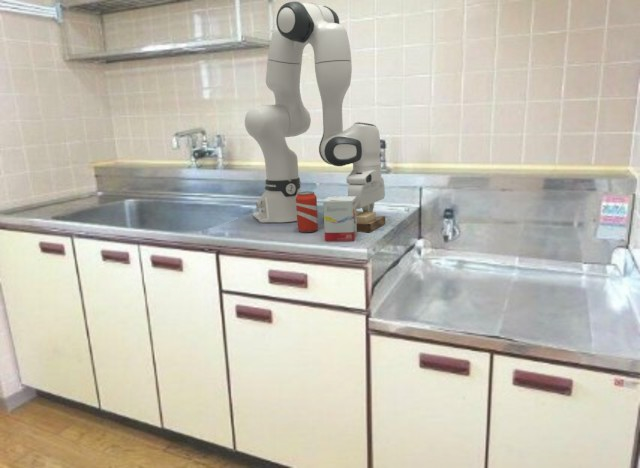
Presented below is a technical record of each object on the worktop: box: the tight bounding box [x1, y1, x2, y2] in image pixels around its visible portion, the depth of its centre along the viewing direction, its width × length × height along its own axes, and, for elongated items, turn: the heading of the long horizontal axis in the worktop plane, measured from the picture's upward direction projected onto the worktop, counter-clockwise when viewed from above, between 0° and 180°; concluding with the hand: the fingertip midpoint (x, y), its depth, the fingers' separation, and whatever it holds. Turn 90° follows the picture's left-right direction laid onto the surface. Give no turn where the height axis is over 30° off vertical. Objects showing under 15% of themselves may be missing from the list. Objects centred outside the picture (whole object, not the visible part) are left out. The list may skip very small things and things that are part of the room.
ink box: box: [322, 195, 358, 242], centre depth 143 cm, size 9×9×12 cm
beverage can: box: [296, 190, 319, 233], centre depth 154 cm, size 6×6×12 cm
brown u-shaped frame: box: [357, 215, 386, 234], centre depth 156 cm, size 12×12×2 cm
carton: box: [356, 210, 377, 223], centre depth 156 cm, size 8×8×5 cm
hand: (368, 217), depth 161 cm, fingers closed
